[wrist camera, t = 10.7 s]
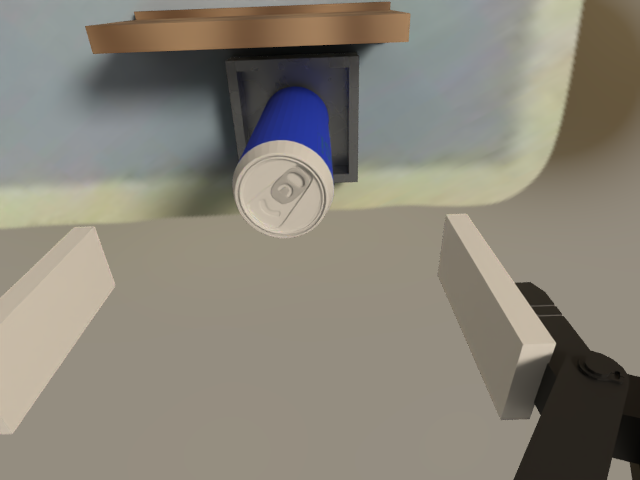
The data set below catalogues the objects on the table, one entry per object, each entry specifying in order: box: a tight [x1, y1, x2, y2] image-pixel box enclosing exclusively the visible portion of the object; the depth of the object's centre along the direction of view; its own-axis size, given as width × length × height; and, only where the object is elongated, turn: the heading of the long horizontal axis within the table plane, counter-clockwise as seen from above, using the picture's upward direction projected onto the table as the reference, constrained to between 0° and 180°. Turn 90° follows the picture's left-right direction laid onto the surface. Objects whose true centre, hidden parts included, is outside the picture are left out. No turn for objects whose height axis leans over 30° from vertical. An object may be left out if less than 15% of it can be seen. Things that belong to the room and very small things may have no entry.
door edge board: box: [85, 2, 410, 54], centre depth 27 cm, size 18×2×8 cm, turn 92°
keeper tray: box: [225, 52, 359, 183], centre depth 32 cm, size 9×9×2 cm
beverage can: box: [232, 86, 334, 238], centre depth 27 cm, size 5×5×15 cm
